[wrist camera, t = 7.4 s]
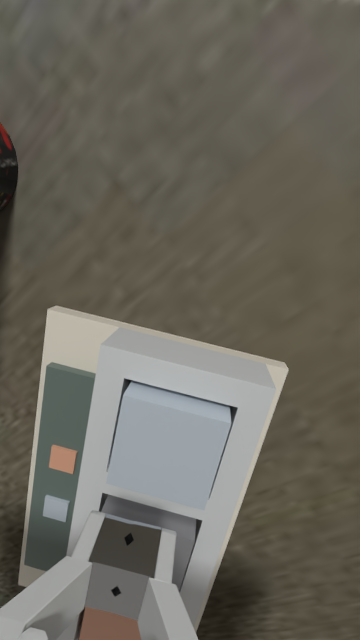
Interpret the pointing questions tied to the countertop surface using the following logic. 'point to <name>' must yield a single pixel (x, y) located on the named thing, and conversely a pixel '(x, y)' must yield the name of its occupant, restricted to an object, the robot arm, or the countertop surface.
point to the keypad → (100, 428)
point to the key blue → (168, 444)
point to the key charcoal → (161, 519)
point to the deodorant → (7, 168)
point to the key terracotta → (108, 626)
